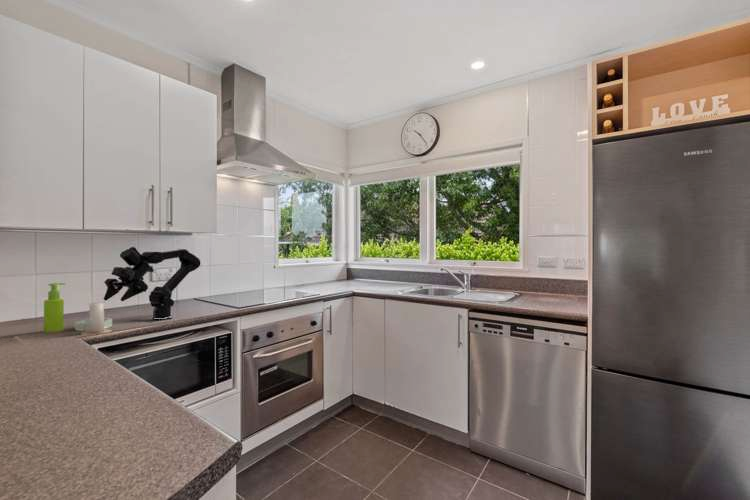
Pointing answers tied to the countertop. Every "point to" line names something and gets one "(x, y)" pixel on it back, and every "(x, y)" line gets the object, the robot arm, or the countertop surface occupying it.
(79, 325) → the bowl
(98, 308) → the white dome-topped cylinder
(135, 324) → the countertop surface
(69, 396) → the countertop surface
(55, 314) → the soap dispenser
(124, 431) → the countertop surface
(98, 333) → the cork mat
